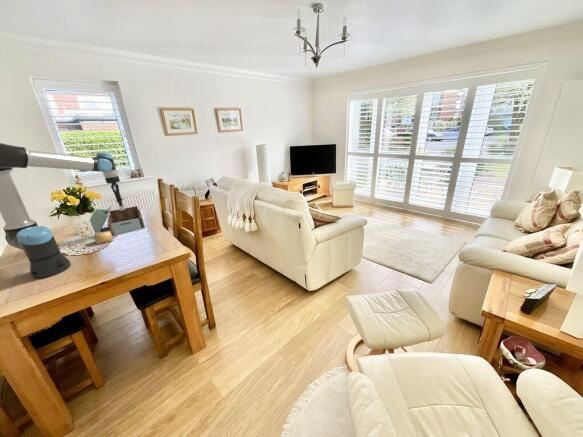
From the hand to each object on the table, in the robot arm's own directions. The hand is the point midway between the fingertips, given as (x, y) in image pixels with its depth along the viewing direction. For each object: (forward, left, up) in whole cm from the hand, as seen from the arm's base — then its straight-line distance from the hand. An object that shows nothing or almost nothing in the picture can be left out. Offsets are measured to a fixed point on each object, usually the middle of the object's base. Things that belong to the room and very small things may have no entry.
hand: (122, 209), depth 165 cm
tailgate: (0, -7, -14) cm, 16 cm away
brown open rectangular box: (0, +4, -15) cm, 16 cm away
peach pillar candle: (-13, -15, -15) cm, 25 cm away
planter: (-21, +14, -13) cm, 29 cm away
